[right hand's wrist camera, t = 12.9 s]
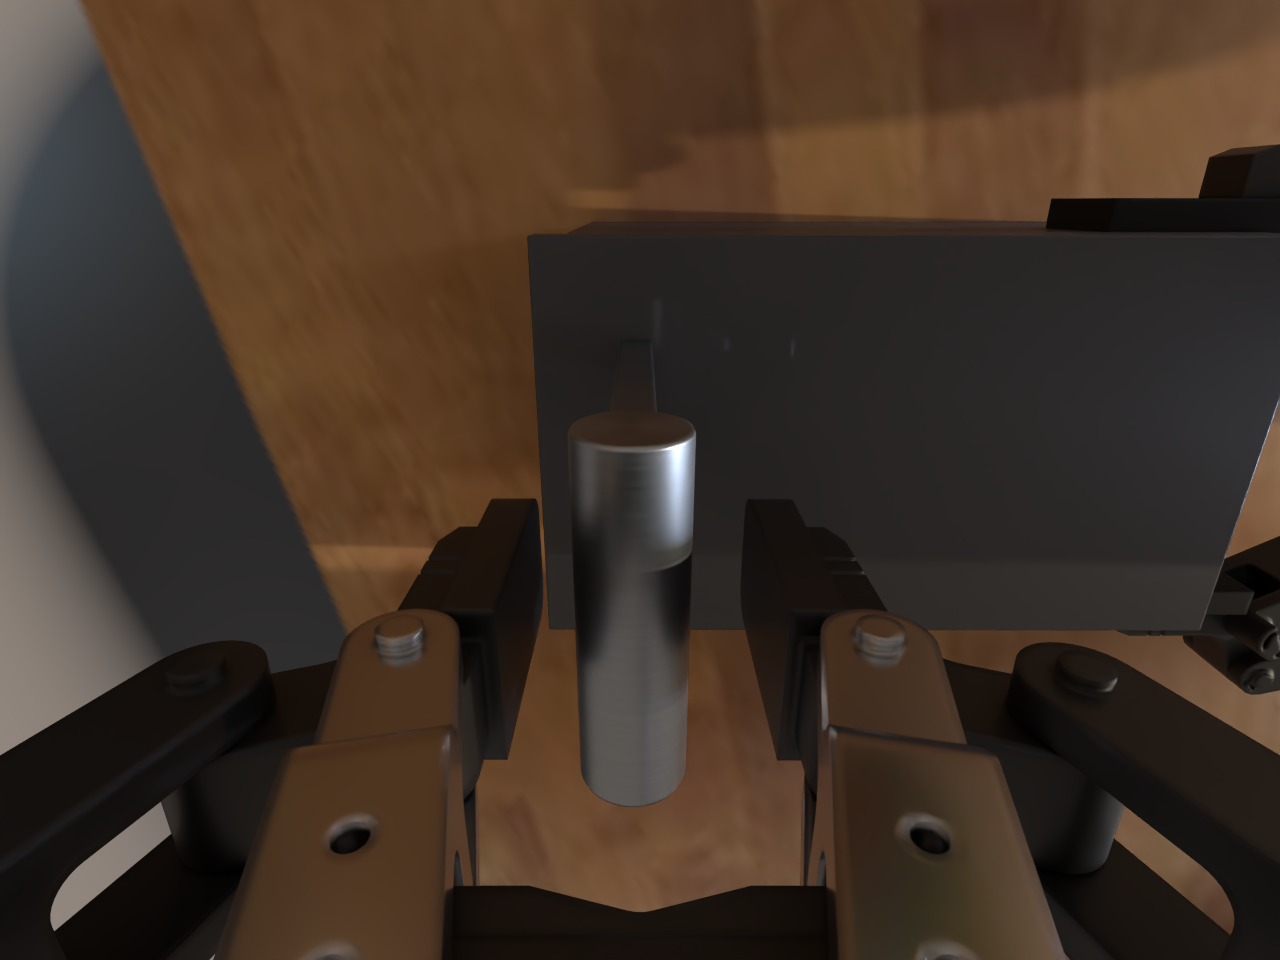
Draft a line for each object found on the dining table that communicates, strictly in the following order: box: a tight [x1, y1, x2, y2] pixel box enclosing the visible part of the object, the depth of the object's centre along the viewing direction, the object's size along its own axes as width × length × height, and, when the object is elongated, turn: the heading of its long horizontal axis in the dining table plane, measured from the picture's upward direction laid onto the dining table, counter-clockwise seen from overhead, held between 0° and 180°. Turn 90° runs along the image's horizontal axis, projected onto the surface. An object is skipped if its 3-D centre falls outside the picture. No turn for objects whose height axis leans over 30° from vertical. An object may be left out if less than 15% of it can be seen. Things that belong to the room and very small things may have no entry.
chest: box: [566, 222, 1280, 234], centre depth 21 cm, size 16×10×9 cm, turn 90°
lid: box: [527, 234, 1280, 807], centre depth 13 cm, size 17×10×8 cm, turn 90°
